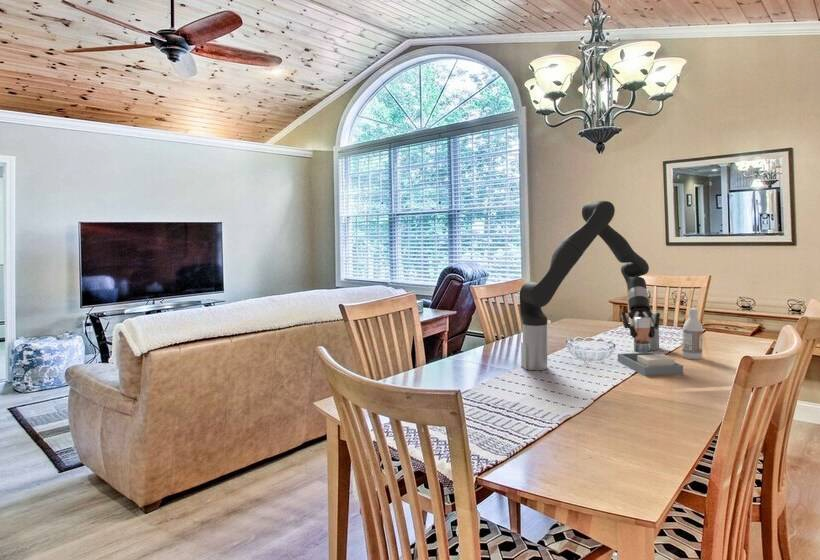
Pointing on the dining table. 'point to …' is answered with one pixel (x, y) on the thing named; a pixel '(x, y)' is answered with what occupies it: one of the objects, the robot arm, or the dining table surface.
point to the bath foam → (692, 336)
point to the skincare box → (655, 340)
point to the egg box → (655, 360)
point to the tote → (631, 362)
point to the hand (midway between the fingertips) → (642, 336)
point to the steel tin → (642, 334)
